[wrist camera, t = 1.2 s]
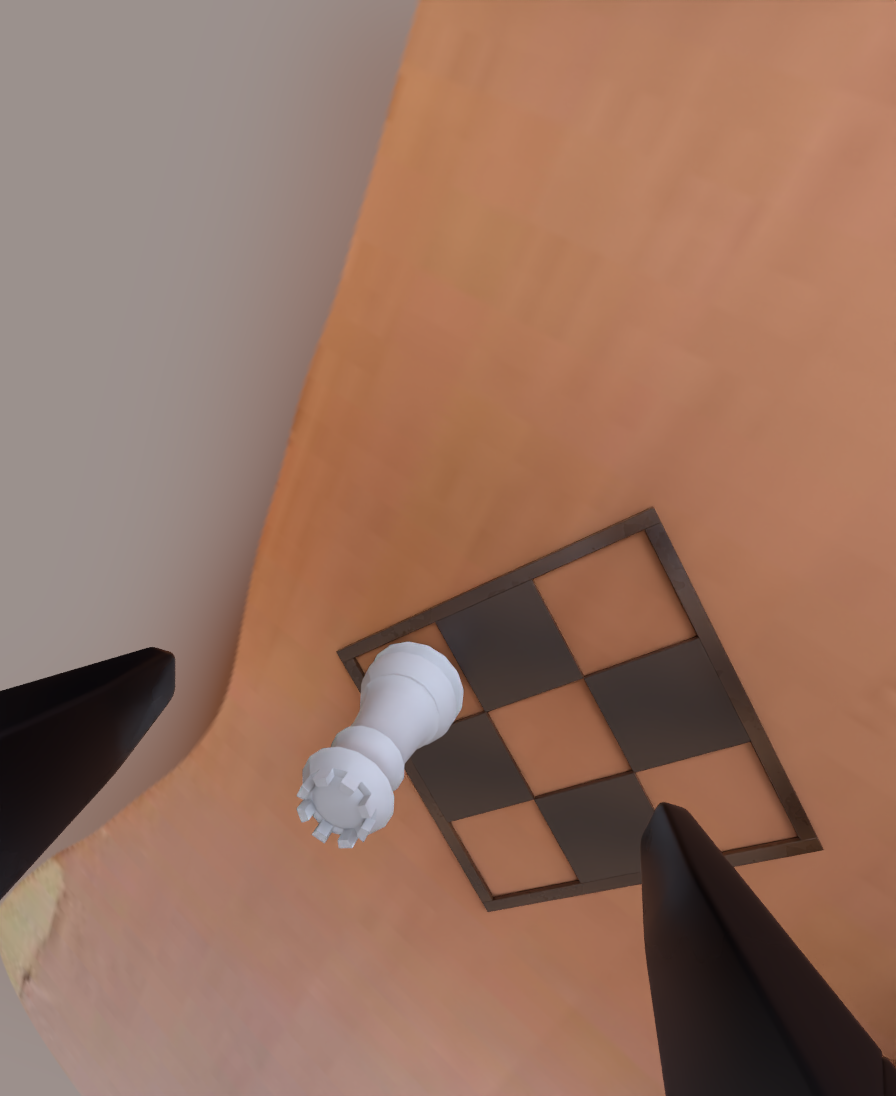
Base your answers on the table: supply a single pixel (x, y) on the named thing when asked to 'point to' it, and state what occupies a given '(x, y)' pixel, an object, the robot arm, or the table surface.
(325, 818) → the rook chess piece
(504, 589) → the chessboard
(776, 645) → the table surface
